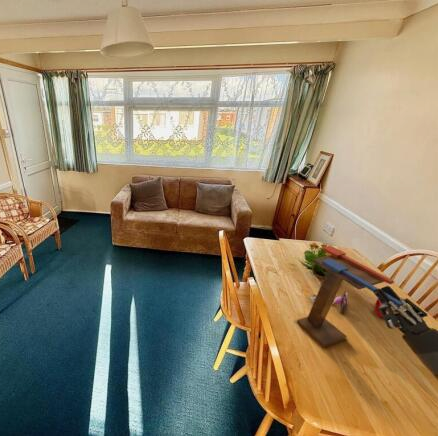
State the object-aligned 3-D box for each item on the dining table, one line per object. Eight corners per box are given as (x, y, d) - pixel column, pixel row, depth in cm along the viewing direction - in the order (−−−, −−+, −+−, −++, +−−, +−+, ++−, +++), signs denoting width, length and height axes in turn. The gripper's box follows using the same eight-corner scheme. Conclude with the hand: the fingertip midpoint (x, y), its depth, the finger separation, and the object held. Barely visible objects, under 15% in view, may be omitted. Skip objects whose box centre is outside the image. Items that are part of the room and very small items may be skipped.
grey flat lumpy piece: (318, 295, 113) (319, 292, 112) (332, 307, 106) (333, 304, 105) (305, 296, 112) (307, 293, 111) (319, 309, 105) (320, 306, 104)
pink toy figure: (343, 301, 101) (347, 291, 106) (329, 298, 105) (333, 288, 110) (344, 314, 102) (348, 304, 107) (330, 310, 106) (334, 301, 111)
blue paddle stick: (405, 304, 66) (407, 301, 66) (395, 308, 65) (397, 305, 64) (330, 261, 85) (331, 258, 85) (321, 263, 84) (322, 260, 83)
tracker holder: (409, 320, 98) (396, 320, 95) (400, 325, 100) (386, 326, 97) (382, 295, 107) (369, 295, 104) (374, 301, 110) (361, 300, 107)
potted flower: (354, 275, 127) (366, 248, 119) (349, 297, 111) (363, 269, 104) (302, 257, 142) (311, 232, 135) (292, 275, 127) (301, 248, 120)
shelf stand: (352, 342, 90) (389, 278, 76) (326, 352, 86) (359, 287, 73) (314, 311, 104) (340, 253, 90) (290, 319, 100) (313, 259, 86)
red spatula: (395, 282, 74) (397, 279, 74) (387, 285, 73) (388, 282, 73) (329, 247, 93) (330, 245, 93) (321, 249, 92) (322, 247, 92)
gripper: (401, 360, 61) (353, 296, 71) (433, 345, 65) (384, 287, 74) (433, 357, 55) (376, 288, 64) (466, 341, 59) (408, 278, 68)
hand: (380, 288), depth 69 cm, fingers open, 3 cm apart
